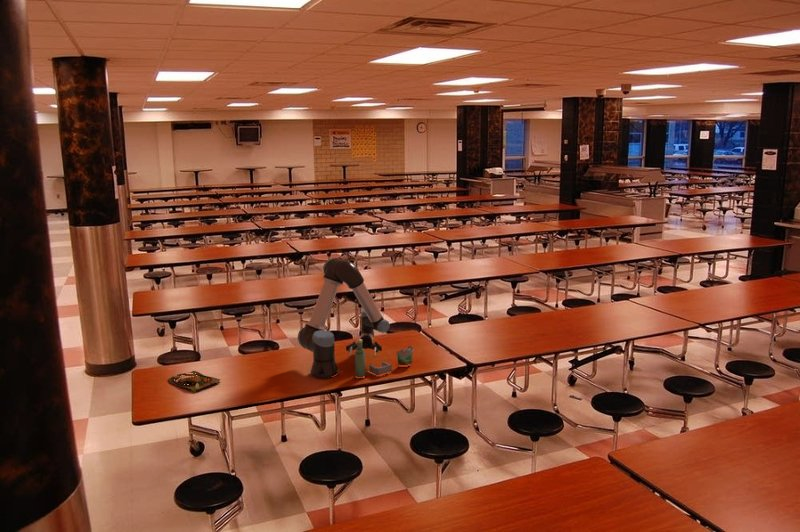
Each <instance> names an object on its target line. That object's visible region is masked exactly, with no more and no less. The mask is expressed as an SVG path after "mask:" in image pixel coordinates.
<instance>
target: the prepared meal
mask: <svg viewBox="0 0 800 532" xmlns="http://www.w3.org/2000/svg"><path fill="white" fill-rule="evenodd" d="M186 373H187V372H184V373H179V374H175V375H173V376H171V377H170V378H168V379H167V383H168V382H169V383H168V384H172V385H175V386H177V387H180V388H184V389H188V390H190V391H191V392H192V393H193V394H196V392H197V391H198V390H202V388H206V387H208V386H210V385H213V384H215V383H216V384H217V385H220V384H221V379H220V378H218V377H213V376H208V375H204V374H202V373H201V372H199V371H196V370H192V371H190V372H189V373H193V374H186ZM195 373H196V374H195ZM181 375H185V376H194V377H182V376H181ZM196 375H197V376H196ZM180 376H181V377H180ZM179 378H180V379H179ZM174 379H175V381H174ZM177 379H179V380H178V381H177V382H176V380H177ZM219 383H220V384H219ZM184 384H185V385H184ZM187 384H189V385H187Z"/></svg>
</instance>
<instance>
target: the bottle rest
mask: <svg viewBox="0 0 800 532" xmlns="http://www.w3.org/2000/svg"><path fill="white" fill-rule="evenodd" d="M392 369H393V368H392V364H390V363H388V362H386V361H381V366H380V368H379V367H377V366H374V365H372V364H369V365H368V370H369V371H370V372H372V373H374V374H376V375H380V374H383V373H387V372H390V371H392ZM392 372H393V371H392Z"/></svg>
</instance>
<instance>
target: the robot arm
mask: <svg viewBox="0 0 800 532" xmlns="http://www.w3.org/2000/svg"><path fill="white" fill-rule="evenodd" d="M322 271H323V274H324V275H323V277H322V279H323V280H324V281H323V284H322V288H321V289H320V292H319V296H318V298H317V299H316V304H315V307H314V309H313V311H312V314H311V317H310V319H309V321H308V322H306V323H305V325H304V326H303V327H302V328H300V329H299V331H298V333H297V341H298V343H299V345H300V346H301V347H302V348H304V349H305V350H308V351H310V352H311V353H312V355H313V356H312V357H313V362H312V365H311V369H310V376H311V377H312V376H313V377H312V378H314V377H316V378H315V379H318V378H328V377H331V376H334V375H336V374H337V373H338V374H339V367H338V365H337V362H336V357H335V355H336V353H335V352H336V351H335V342H336V341H335V335H334V334H333V333H332V332H331V331H329V330H326V328H325V325H326V322H327V319H328V317H329V314H330V311H331V309H332V306H333V302H334V301H335V297H336V294H337V292H338V290H339V287H340V286H343V285H344V284H346V286H347V287H348V288H349V289H351V290H352V292H353V293H354V295H355V297H356V299H357V301H358V302H359V304H360V305H361V307H362V309H363V310H362V311H360V325H361V327H360V328H361V331H360V333H361V334H360V338H359V339H362V348H363V349H364V350H372V351H373V356H376V354H377V353H379V352H382V351H383V348H382V347H383V346H382V345H380V344H379V343H378V342H377V341H375V342H373V341H374V338H375V331H377V332H380V333H383V334H384V333H387V332H388V331H389V330H390V325H391V324H390V322H389V321H388V320H387V319H385V318H384V317H383V315H382V313H381V312H380V309H379V308H378V306H377V304H376V302H375V301H374V299H373V297H372V295H371V293H370V292H369V290H368V288H367V286H366V284H365V279H364V277H363V275H362V273H361V272H360V270H359V268H358V267H357V266H356V265H355V263H353V262H351V261H349V260H345V259H343V258H339V257H331V258H328V259H327V260H326V261H325V262H324V264H323V266H322ZM374 330H375V331H374ZM356 349H357V341H354V340H353V342H351V343H350V344H348V345H346V346H345V350H346V351H348V353H349V356H352V355H353V354H352V353H353V351H356ZM328 379H329V378H328Z"/></svg>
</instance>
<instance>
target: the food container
mask: <svg viewBox="0 0 800 532" xmlns="http://www.w3.org/2000/svg"><path fill="white" fill-rule="evenodd" d="M413 347H414V346H411V345H408V347H406V348H402V349H401V350H396V355H397V356H396V357H397V366H398V365H408V364H411V363H412V364H413V353H414V352H415V350H414V348H413Z"/></svg>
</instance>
